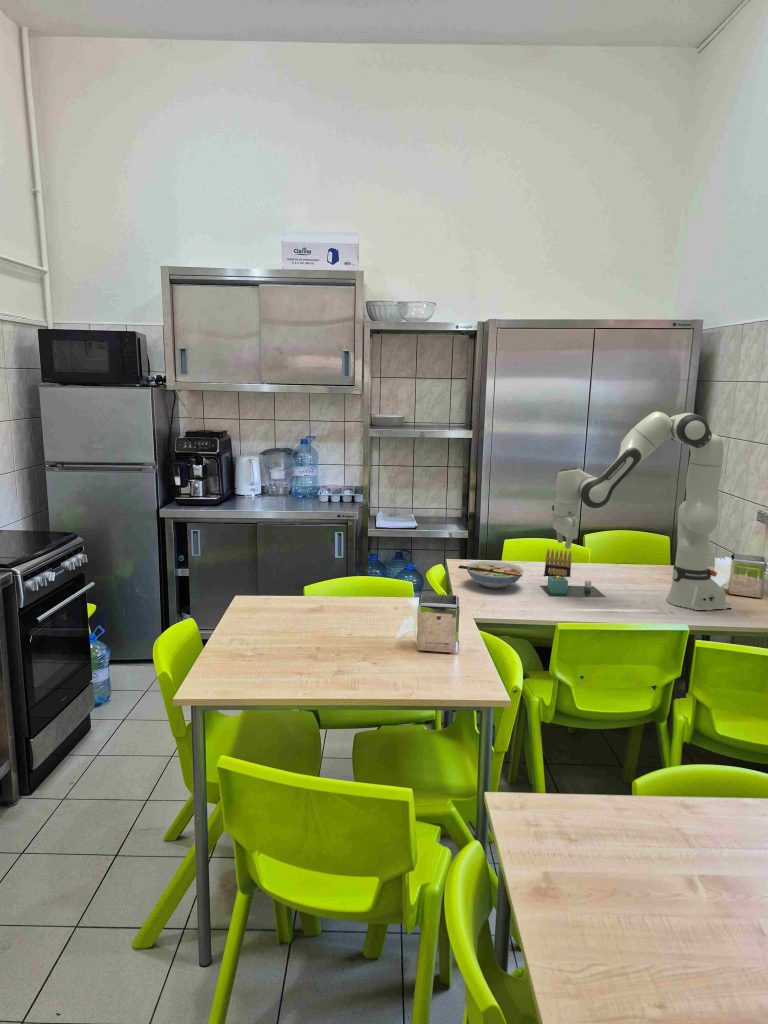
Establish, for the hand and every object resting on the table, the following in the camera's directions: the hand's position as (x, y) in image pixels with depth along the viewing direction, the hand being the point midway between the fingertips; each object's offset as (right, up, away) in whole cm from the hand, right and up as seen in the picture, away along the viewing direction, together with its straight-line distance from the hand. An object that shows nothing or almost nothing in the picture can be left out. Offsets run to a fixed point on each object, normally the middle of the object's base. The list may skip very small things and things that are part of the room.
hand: (563, 545), depth 259 cm
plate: (+4, -19, +4) cm, 20 cm away
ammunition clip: (+4, -15, +27) cm, 31 cm away
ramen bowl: (-25, -17, +11) cm, 32 cm away
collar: (-2, -18, +4) cm, 18 cm away
